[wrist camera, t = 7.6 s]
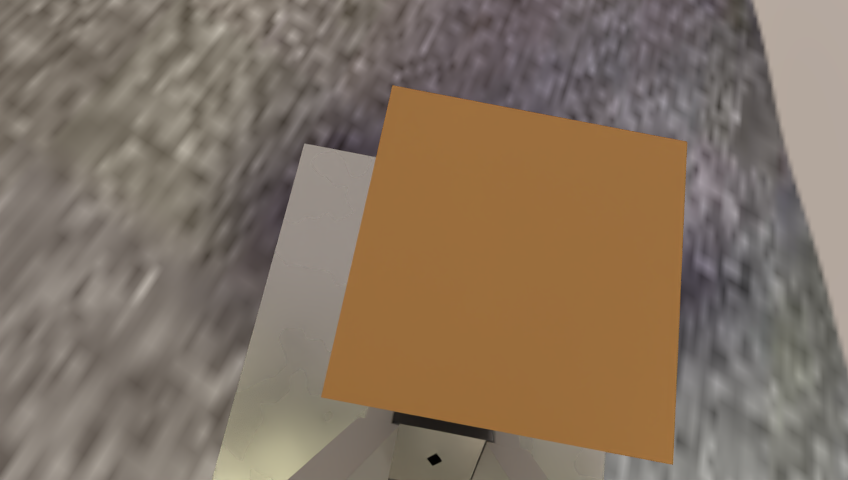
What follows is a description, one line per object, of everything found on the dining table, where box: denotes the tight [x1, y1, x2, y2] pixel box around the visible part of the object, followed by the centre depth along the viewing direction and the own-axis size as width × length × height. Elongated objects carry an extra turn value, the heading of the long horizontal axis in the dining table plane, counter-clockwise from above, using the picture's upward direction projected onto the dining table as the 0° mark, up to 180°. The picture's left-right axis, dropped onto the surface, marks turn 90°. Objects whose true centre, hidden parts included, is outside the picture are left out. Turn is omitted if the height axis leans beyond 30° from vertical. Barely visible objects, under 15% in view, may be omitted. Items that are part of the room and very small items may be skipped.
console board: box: [212, 144, 606, 480], centre depth 14 cm, size 20×12×4 cm, turn 170°
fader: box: [321, 85, 687, 465], centre depth 9 cm, size 3×3×10 cm
